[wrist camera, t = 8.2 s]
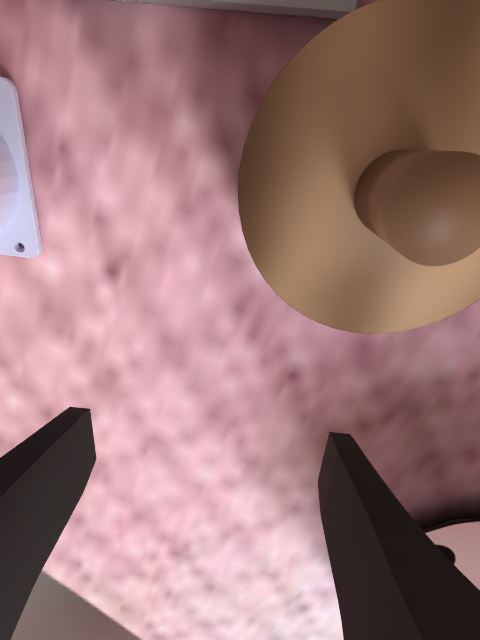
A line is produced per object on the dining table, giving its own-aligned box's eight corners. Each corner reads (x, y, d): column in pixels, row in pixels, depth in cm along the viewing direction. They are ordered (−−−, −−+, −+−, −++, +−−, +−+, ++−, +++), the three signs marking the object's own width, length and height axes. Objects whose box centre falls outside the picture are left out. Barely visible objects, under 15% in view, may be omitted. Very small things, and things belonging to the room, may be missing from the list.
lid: (236, 320, 17) (229, 381, 13) (241, -2, 12) (232, -85, 8) (494, 330, 16) (577, 396, 12) (612, 0, 11) (826, -86, 7)
